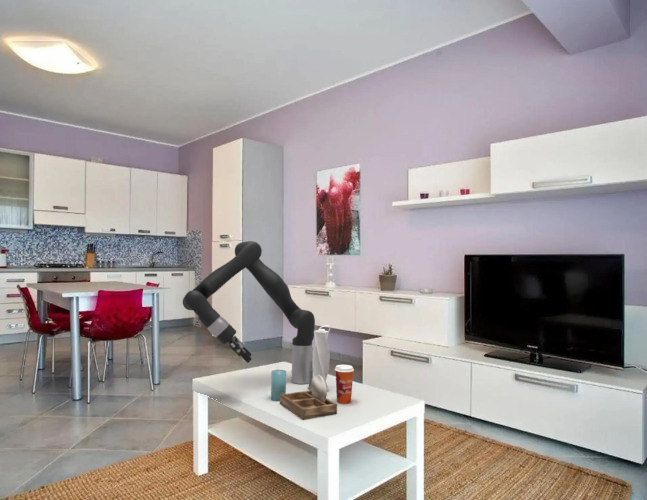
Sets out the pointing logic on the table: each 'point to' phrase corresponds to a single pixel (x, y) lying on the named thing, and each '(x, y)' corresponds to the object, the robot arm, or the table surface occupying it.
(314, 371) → the skyscraper
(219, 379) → the table surface
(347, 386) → the paper cup
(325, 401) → the tray
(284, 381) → the teal dome-topped cylinder
